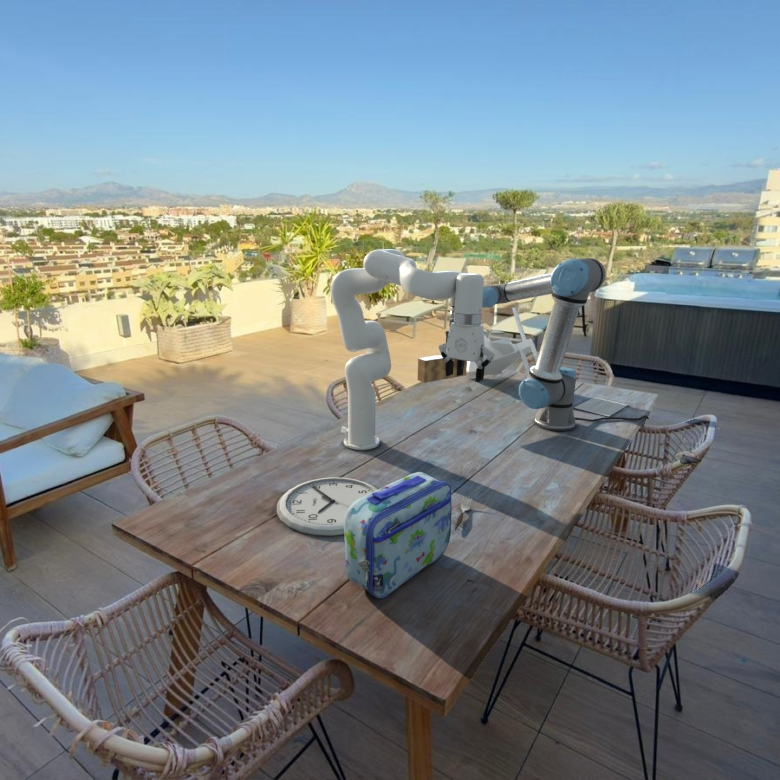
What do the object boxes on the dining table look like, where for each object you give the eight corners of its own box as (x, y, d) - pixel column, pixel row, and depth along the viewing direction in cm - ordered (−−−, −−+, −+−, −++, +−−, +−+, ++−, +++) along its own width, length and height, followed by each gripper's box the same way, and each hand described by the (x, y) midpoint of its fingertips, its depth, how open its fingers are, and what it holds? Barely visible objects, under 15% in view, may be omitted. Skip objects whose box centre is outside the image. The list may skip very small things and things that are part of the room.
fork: (449, 531, 131) (450, 524, 131) (463, 501, 146) (463, 495, 145) (459, 533, 130) (460, 526, 130) (472, 503, 145) (473, 496, 144)
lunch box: (372, 611, 103) (373, 518, 97) (338, 585, 111) (336, 497, 104) (455, 557, 121) (460, 475, 115) (420, 537, 128) (424, 459, 122)
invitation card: (608, 416, 214) (573, 407, 224) (608, 416, 214) (573, 408, 224) (628, 404, 229) (594, 396, 238) (628, 405, 229) (594, 397, 238)
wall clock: (392, 527, 129) (268, 531, 127) (391, 533, 130) (269, 537, 127) (383, 473, 158) (282, 475, 155) (383, 478, 158) (282, 480, 156)
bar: (459, 372, 223) (460, 352, 220) (466, 375, 219) (467, 354, 217) (417, 380, 211) (418, 358, 209) (424, 382, 208) (425, 360, 205)
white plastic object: (482, 419, 265) (461, 396, 241) (463, 346, 287) (443, 319, 263) (553, 395, 253) (539, 368, 228) (528, 321, 275) (513, 290, 250)
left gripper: (434, 317, 147) (431, 375, 153) (489, 324, 138) (485, 386, 143) (447, 314, 153) (444, 370, 158) (502, 321, 143) (497, 380, 148)
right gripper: (438, 315, 217) (435, 369, 224) (466, 322, 203) (462, 379, 210) (452, 314, 221) (449, 367, 228) (480, 320, 207) (476, 377, 214)
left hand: (463, 378), depth 151 cm, fingers open, 9 cm apart
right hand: (455, 373), depth 219 cm, fingers closed on bar, 5 cm apart
